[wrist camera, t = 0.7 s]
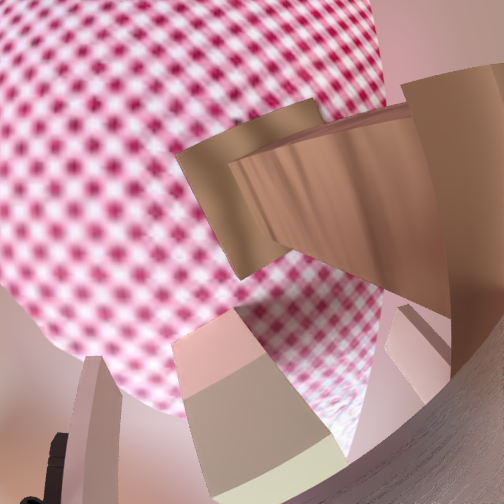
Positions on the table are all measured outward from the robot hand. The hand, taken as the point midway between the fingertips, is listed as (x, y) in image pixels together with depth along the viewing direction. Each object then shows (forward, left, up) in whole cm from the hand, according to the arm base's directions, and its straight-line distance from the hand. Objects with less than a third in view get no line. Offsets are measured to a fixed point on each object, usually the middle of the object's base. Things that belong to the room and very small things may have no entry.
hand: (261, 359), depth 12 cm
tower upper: (+8, +8, -9) cm, 15 cm away
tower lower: (+8, +8, -19) cm, 22 cm away
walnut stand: (-11, +3, -19) cm, 22 cm away
